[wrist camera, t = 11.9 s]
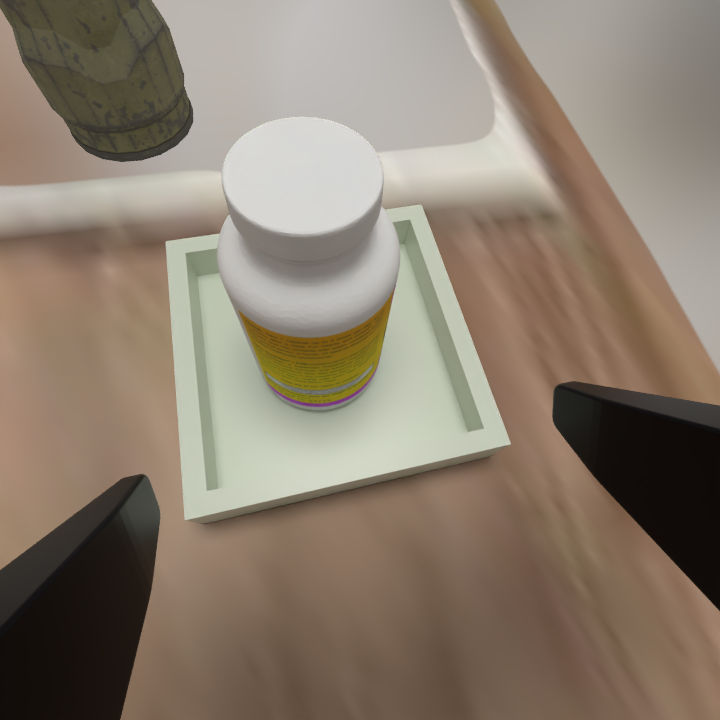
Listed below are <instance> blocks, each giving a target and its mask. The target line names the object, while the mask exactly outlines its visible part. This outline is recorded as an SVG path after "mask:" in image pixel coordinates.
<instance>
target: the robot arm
mask: <svg viewBox="0 0 720 720" xmlns="http://www.w3.org/2000/svg"><path fill="white" fill-rule="evenodd" d="M552 417H553V422H554V425H555V427H556V428H557V429H558V431H559V432H560V433H561V435H562V436H563V437H564V439H565V440H566V441H567V442H568V444H569V445H570V446H571V448H572V449H573V450H574V452H575V453H576V454H577V455H578V457H579V458H580V459H581V461H582V462H583V463H584V465H585V466H586V467H587V468H588V470H589V471H590V472H591V473H592V475H593V476H594V477H595V478H596V479H597V480H598V482H599V483H600V484H601V485H602V486H603V487H604V488H605V489H606V490H607V491H608V492H609V493H610V495H611V496H612V497H613V498H614V499H615V500H616V501H617V502H618V503H619V504H620V505H621V506H622V507H623V508H624V509H625V511H626V512H627V513H628V514H629V515H630V516H631V517H632V518H633V519H634V520H635V521H636V522H637V523H638V524H639V525H640V526H641V528H642V529H643V530H644V531H645V532H646V533H647V534H648V535H649V536H650V537H651V538H652V539H653V540H654V541H655V542H656V544H657V545H658V546H659V547H660V548H661V549H662V550H663V551H664V552H665V553H666V554H667V555H668V556H669V557H670V558H671V560H672V561H673V562H674V563H675V564H676V565H677V566H678V567H679V568H680V569H681V570H682V571H683V572H684V573H685V574H686V576H687V577H688V578H689V579H690V580H691V581H692V582H693V583H694V584H695V585H696V586H697V587H698V588H699V589H700V590H701V592H702V593H703V594H704V595H705V596H706V597H707V598H708V599H709V600H710V601H711V602H712V603H713V604H714V605H715V606H716V608H717V609H718V610H719V611H720V406H719V405H713V404H707V403H701V402H695V401H689V400H683V399H677V398H671V397H665V396H659V395H653V394H647V393H641V392H635V391H629V390H623V389H617V388H611V387H605V386H599V385H593V384H588V383H582V382H576V381H572V382H567V383H562V384H558V385H557V386H556V387H555V389H554V395H553V414H552ZM159 525H160V509H159V505H158V502H157V500H156V497H155V494H154V491H153V489H152V486H151V483H150V481H149V478H148V477H147V476H146V475H144V474H139V475H134V476H129V477H125V478H122V479H121V480H120V481H118V482H117V483H116V484H114V485H113V486H112V487H110V488H109V489H108V490H106V491H105V492H104V493H102V494H101V495H100V496H98V497H97V498H96V499H94V500H93V501H92V502H90V503H89V504H88V505H86V506H85V507H84V508H82V509H81V510H80V511H78V512H77V513H76V514H74V515H73V516H72V517H70V518H69V519H68V520H66V521H65V522H64V523H62V524H61V525H60V526H58V527H57V528H56V529H54V530H53V531H52V532H50V533H49V534H48V535H46V536H45V537H44V538H42V539H41V540H40V541H38V542H37V543H36V544H34V545H33V546H32V547H30V548H29V549H28V550H26V551H25V552H24V553H22V554H21V555H20V556H18V557H17V558H16V559H14V560H13V561H12V562H10V563H9V564H8V565H6V566H5V567H4V568H2V569H1V570H0V720H120V719H121V714H122V710H123V706H124V702H125V698H126V694H127V690H128V686H129V681H130V677H131V673H132V669H133V665H134V661H135V657H136V652H137V648H138V644H139V640H140V636H141V632H142V628H143V624H144V619H145V615H146V611H147V607H148V603H149V598H150V594H151V589H152V582H153V575H154V566H155V558H156V550H157V541H158V533H159Z"/></svg>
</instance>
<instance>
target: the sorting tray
mask: <svg viewBox="0 0 720 720" xmlns="http://www.w3.org/2000/svg"><path fill="white" fill-rule="evenodd" d="M385 211H386V212H387V214H388V215H389V217H390V219H391V221H392V223H393V225H394V227H395V230H396V232H397V236H398V240H399V245H400V267H399V272H398V277H397V282H396V287H395V291H394V295H393V300H392V304H391V309H390V314H389V318H388V323H387V327H386V332H385V337H384V342H383V346H382V351H381V356H380V361H379V364H378V368H377V371H376V373H375V376H374V377H373V379H372V381H371V383H370V384H369V385H368V387H367V388H366V389H365V390H364V391H363V392H362V393H361V394H360V395H359V396H358V397H356V398H355V399H353V400H352V401H350V402H348V403H346V404H344V405H342V406H339V407H336V408H332V409H327V410H309V409H304V408H300V407H296V406H294V405H291V404H289V403H287V402H286V401H284V400H282V399H281V398H280V397H278V396H277V395H276V394H275V393H274V392H273V391H272V390H271V389H270V388H269V386H268V385H267V384H266V382H265V380H264V379H263V377H262V374H261V372H260V370H259V368H258V365H257V363H256V361H255V358H254V356H253V353H252V351H251V349H250V346H249V344H248V341H247V339H246V336H245V334H244V332H243V329H242V327H241V324H240V322H239V320H238V317H237V315H236V312H235V310H234V308H233V305H232V303H231V301H230V299H229V296H228V294H227V292H226V289H225V287H224V285H223V282H222V280H221V277H220V273H219V269H218V263H217V245H218V240H219V235H220V234H214V235H207V236H200V237H193V238H186V239H179V240H172V241H166V253H167V268H168V282H169V297H170V311H171V326H172V340H173V355H174V369H175V384H176V398H177V413H178V427H179V442H180V456H181V471H182V485H183V500H184V514H185V520H186V521H191V522H196V523H201V524H207V523H211V522H216V521H220V520H224V519H228V518H233V517H237V516H241V515H245V514H249V513H254V512H258V511H262V510H266V509H271V508H275V507H279V506H283V505H288V504H292V503H296V502H300V501H305V500H309V499H313V498H317V497H321V496H326V495H330V494H334V493H338V492H343V491H347V490H351V489H355V488H360V487H364V486H368V485H372V484H376V483H381V482H385V481H389V480H393V479H398V478H402V477H406V476H410V475H415V474H419V473H423V472H427V471H432V470H436V469H440V468H444V467H448V466H453V465H457V464H461V463H465V462H470V461H474V460H478V459H482V458H487V457H490V456H492V455H494V454H495V453H497V452H499V451H500V450H502V449H504V448H505V447H507V446H509V445H511V443H510V440H509V438H508V435H507V432H506V430H505V427H504V424H503V422H502V419H501V416H500V414H499V411H498V408H497V405H496V403H495V400H494V397H493V395H492V392H491V389H490V387H489V384H488V381H487V379H486V376H485V373H484V371H483V368H482V365H481V363H480V360H479V357H478V355H477V352H476V349H475V347H474V344H473V341H472V339H471V336H470V333H469V331H468V328H467V325H466V323H465V320H464V317H463V315H462V312H461V309H460V307H459V304H458V301H457V298H456V296H455V293H454V290H453V288H452V285H451V282H450V280H449V277H448V274H447V272H446V269H445V266H444V264H443V261H442V258H441V256H440V253H439V250H438V248H437V245H436V242H435V240H434V237H433V234H432V232H431V229H430V226H429V224H428V221H427V218H426V216H425V213H424V210H423V208H422V205H415V206H408V207H401V208H394V209H387V210H385Z"/></svg>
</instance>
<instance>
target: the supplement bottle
mask: <svg viewBox="0 0 720 720" xmlns="http://www.w3.org/2000/svg"><path fill="white" fill-rule="evenodd" d="M383 183H384V176H383V167H382V164H381V161H380V159H379V156H378V155H377V153H376V151H375V150H374V148H373V147H372V146H371V144H370V143H369V142H368V141H367V140H366V139H365V138H363V137H362V136H361V135H359V134H358V133H357V132H355V131H353V130H352V129H350V128H348V127H346V126H344V125H342V124H340V123H337V122H334V121H330V120H327V119H322V118H313V117H288V118H282V119H277V120H273V121H270V122H267V123H265V124H262V125H260V126H258V127H256V128H254V129H252V130H251V131H249V132H248V133H246V134H245V135H243V136H242V137H241V138H240V139H239V140H238V141H237V142H236V143H235V144H234V145H233V146H232V148H231V149H230V150H229V152H228V154H227V156H226V158H225V160H224V164H223V169H222V187H223V191H224V195H225V198H226V202H227V206H228V210H229V215H228V216H227V218H226V220H225V222H224V224H223V227H222V229H221V232H220V235H219V240H218V245H217V263H218V269H219V273H220V277H221V280H222V282H223V285H224V287H225V289H226V292H227V294H228V296H229V299H230V301H231V303H232V305H233V308H234V310H235V312H236V315H237V317H238V320H239V322H240V324H241V327H242V329H243V332H244V334H245V336H246V339H247V341H248V344H249V346H250V349H251V351H252V353H253V356H254V358H255V361H256V363H257V365H258V368H259V370H260V372H261V374H262V377H263V379H264V380H265V382H266V384H267V385H268V386H269V388H270V389H271V390H272V391H273V392H274V393H275V394H276V395H277V396H278V397H280V398H281V399H282V400H284V401H286V402H287V403H289V404H291V405H294V406H296V407H300V408H304V409H309V410H327V409H332V408H336V407H339V406H342V405H344V404H346V403H348V402H350V401H352V400H353V399H355V398H356V397H358V396H359V395H360V394H361V393H362V392H363V391H364V390H365V389H366V388H367V387H368V385H369V384H370V383H371V381H372V379H373V377H374V376H375V373H376V371H377V368H378V364H379V361H380V356H381V351H382V346H383V342H384V337H385V332H386V327H387V323H388V318H389V314H390V309H391V304H392V300H393V295H394V291H395V287H396V282H397V277H398V272H399V267H400V245H399V240H398V236H397V232H396V230H395V227H394V225H393V223H392V221H391V219H390V217H389V215H388V214H387V212H386V211H385V210H384V208H383V207H382V206H381V203H382V193H383Z"/></svg>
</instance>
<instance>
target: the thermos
mask: <svg viewBox="0 0 720 720" xmlns="http://www.w3.org/2000/svg"><path fill="white" fill-rule="evenodd" d="M0 8H1V10H2V11H3V13H4V15H5V17H6V18H7V20H8V21H9V23H10V25H11V26H12V28H13V31H14V35H15V39H16V42H17V46H18V50H19V53H20V56H21V59H22V62H23V64H24V65H25V67H26V68H27V70H28V71H29V73H30V75H31V76H32V78H33V79H34V81H35V82H36V84H37V85H38V87H39V88H40V90H41V92H42V93H43V95H44V96H45V98H46V99H47V101H48V102H49V104H50V105H51V107H52V109H53V110H55V111H56V112H57V113H58V114H59V115H60V116H61V117H62V118H63V119H64V121H65V122H66V124H67V126H68V127H69V129H70V131H71V134H72V136H73V137H74V139H75V140H76V142H77V143H78V144H79V145H80V146H81V147H82V148H83V149H84V150H85V151H87V152H88V153H90V154H93V155H95V156H97V157H99V158H102V159H107V160H113V161H120V162H125V161H138V160H144V159H147V158H151V157H154V156H158V155H161V154H162V153H164V152H166V151H168V150H169V149H171V148H173V147H175V146H176V145H177V144H178V143H179V142H180V141H181V140H182V139H183V138H184V137H185V136H186V135H187V134H188V132H189V129H190V127H191V125H192V123H193V109H192V106H191V102H190V100H189V98H188V97H187V94H186V90H185V87H184V73H183V70H182V67H181V64H180V61H179V58H178V55H177V51H176V48H175V45H174V42H173V39H172V36H171V33H170V29H169V28H168V26H167V24H166V22H165V21H164V19H163V17H162V15H161V14H160V12H159V11H158V9H157V8H156V7H155V5H154V3H153V2H152V0H0Z"/></svg>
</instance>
